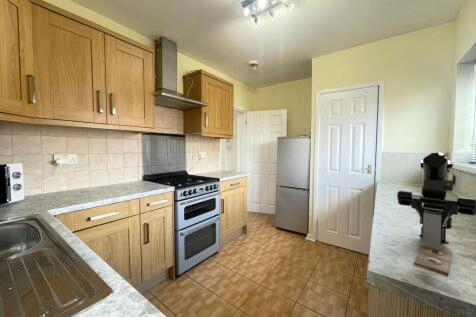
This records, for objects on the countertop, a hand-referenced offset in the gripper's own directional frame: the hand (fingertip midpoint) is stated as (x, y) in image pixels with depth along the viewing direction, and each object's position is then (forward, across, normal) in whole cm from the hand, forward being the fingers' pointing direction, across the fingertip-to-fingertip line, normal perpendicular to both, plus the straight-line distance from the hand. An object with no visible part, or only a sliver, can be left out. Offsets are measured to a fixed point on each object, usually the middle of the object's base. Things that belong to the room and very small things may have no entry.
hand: (432, 224), depth 63 cm
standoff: (+4, 0, +6) cm, 7 cm away
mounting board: (+6, +1, +13) cm, 15 cm away
